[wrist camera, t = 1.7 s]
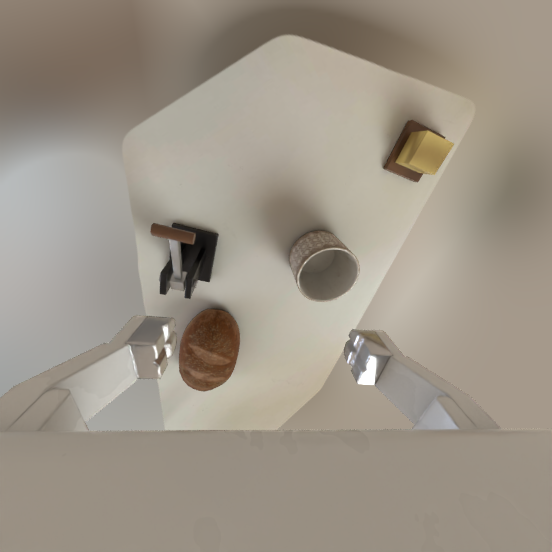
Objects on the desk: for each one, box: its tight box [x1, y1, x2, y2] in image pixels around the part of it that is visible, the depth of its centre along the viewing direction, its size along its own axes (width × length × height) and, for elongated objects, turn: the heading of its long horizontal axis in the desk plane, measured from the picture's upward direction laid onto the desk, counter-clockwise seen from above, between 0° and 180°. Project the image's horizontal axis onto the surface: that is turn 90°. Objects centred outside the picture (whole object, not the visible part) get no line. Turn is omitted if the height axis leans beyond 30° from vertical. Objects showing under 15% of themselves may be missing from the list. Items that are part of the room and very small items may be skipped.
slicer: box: [159, 223, 218, 299], centre depth 39 cm, size 12×9×13 cm
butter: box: [383, 120, 454, 182], centre depth 37 cm, size 8×8×5 cm
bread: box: [179, 309, 240, 391], centre depth 56 cm, size 16×29×11 cm, turn 165°
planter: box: [289, 231, 360, 302], centre depth 44 cm, size 13×13×10 cm
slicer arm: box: [151, 223, 195, 291], centre depth 31 cm, size 14×5×2 cm, turn 162°
